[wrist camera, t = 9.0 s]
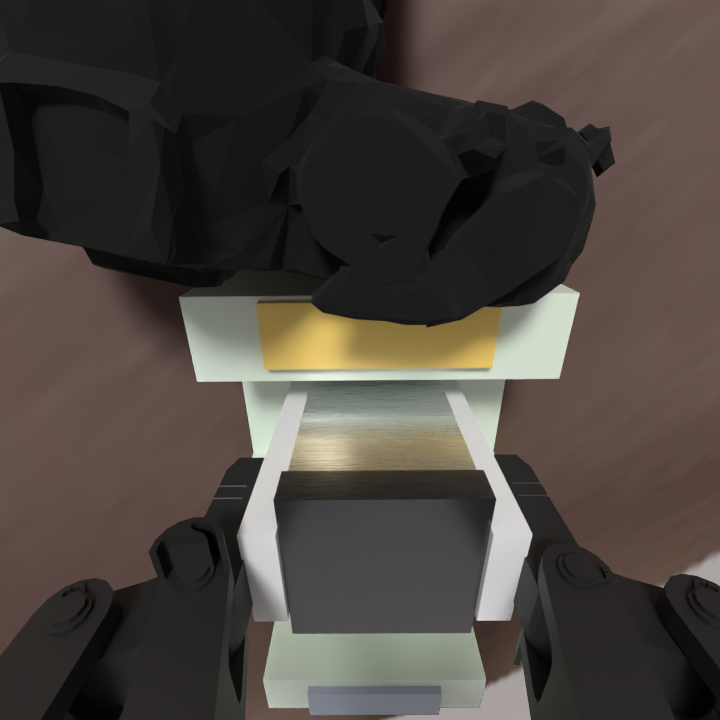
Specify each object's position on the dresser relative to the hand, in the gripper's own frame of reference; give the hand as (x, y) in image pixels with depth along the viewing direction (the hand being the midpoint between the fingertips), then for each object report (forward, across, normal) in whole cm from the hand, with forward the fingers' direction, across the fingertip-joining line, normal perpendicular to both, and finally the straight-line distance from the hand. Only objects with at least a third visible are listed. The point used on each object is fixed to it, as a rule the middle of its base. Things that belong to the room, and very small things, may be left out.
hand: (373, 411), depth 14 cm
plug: (+1, 0, 0) cm, 1 cm away
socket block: (+2, 0, -5) cm, 5 cm away
